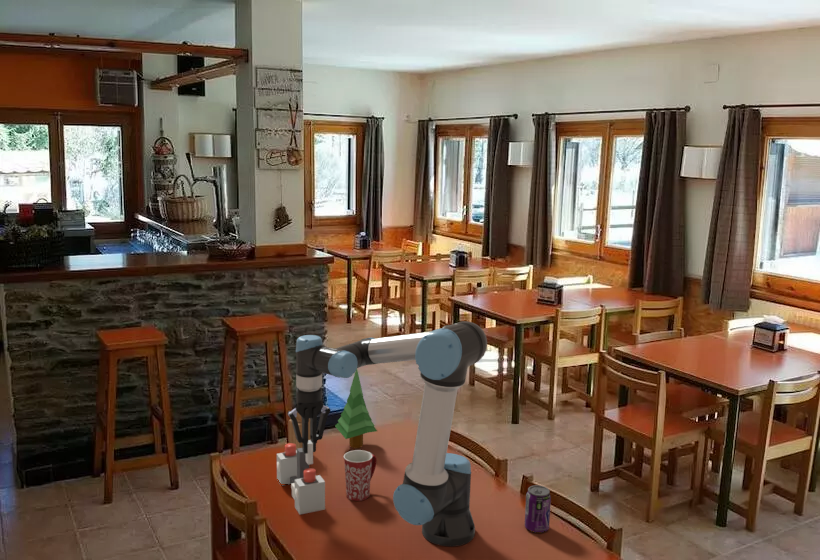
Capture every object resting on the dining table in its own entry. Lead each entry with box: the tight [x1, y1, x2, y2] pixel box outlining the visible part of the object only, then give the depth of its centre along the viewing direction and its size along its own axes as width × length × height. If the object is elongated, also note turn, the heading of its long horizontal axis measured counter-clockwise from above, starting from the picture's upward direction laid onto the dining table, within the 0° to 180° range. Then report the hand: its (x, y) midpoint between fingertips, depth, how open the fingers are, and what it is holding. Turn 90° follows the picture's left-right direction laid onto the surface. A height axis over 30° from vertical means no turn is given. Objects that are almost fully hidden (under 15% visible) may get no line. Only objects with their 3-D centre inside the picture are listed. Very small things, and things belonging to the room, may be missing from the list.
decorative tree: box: [334, 368, 378, 449], centre depth 267 cm, size 14×16×30 cm
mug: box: [343, 449, 378, 502], centre depth 232 cm, size 13×9×14 cm
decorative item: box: [287, 412, 311, 450], centre depth 259 cm, size 7×7×20 cm
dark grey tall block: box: [290, 448, 310, 501], centre depth 228 cm, size 6×6×16 cm
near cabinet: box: [294, 474, 326, 515], centre depth 222 cm, size 5×8×9 cm, turn 115°
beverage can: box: [524, 485, 552, 533], centre depth 213 cm, size 7×7×12 cm
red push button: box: [284, 442, 296, 456], centre depth 239 cm, size 4×4×3 cm
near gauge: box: [304, 467, 317, 483], centre depth 221 cm, size 4×4×3 cm
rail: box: [289, 476, 297, 485], centre depth 232 cm, size 16×2×2 cm, turn 25°
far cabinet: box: [276, 450, 297, 485], centre depth 241 cm, size 5×8×9 cm, turn 115°
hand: (309, 462), depth 221 cm, fingers closed
